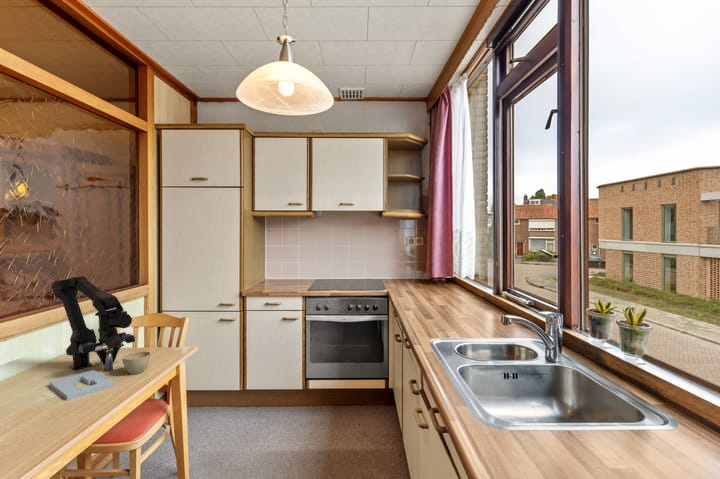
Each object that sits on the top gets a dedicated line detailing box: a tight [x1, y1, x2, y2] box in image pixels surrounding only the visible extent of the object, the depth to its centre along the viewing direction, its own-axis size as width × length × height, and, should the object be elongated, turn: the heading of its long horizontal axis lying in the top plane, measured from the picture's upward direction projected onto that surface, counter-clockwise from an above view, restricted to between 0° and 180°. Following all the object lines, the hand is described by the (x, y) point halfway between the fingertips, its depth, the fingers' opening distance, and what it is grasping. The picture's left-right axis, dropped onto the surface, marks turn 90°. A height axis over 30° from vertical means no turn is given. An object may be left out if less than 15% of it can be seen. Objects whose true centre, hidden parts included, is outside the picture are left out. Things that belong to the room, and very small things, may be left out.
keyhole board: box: [49, 369, 114, 401], centre depth 135 cm, size 20×14×2 cm
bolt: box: [103, 346, 114, 373], centre depth 150 cm, size 4×4×10 cm
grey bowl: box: [121, 350, 151, 375], centre depth 148 cm, size 10×10×7 cm
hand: (108, 363), depth 150 cm, fingers closed on bolt, 3 cm apart
